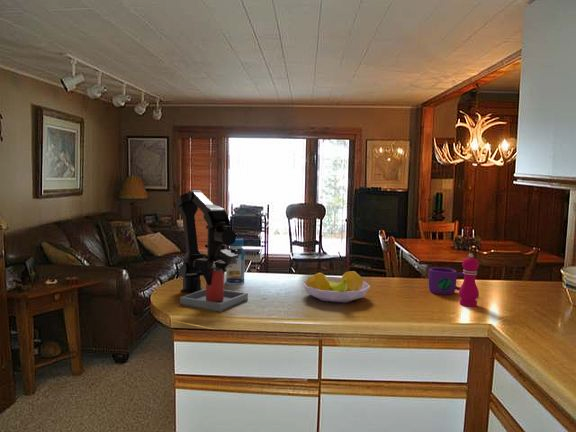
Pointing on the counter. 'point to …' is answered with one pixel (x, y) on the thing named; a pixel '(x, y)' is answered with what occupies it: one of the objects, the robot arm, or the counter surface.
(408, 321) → the counter surface
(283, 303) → the counter surface
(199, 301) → the tray
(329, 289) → the fruit bowl
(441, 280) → the mug
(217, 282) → the beer can
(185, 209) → the robot arm
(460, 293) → the pepper mill
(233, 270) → the beverage bottle
